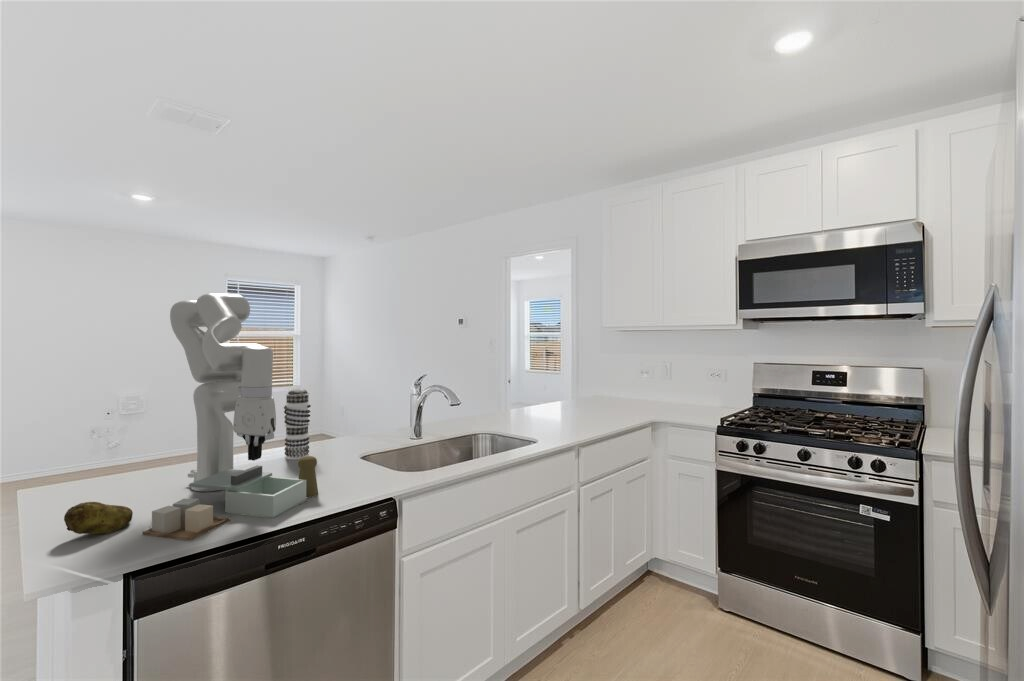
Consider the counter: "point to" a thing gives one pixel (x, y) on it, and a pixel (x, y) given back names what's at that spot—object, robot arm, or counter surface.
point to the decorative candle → (297, 424)
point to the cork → (308, 474)
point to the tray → (186, 534)
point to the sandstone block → (198, 518)
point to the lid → (232, 479)
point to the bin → (266, 497)
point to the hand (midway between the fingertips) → (254, 458)
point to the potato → (97, 518)
